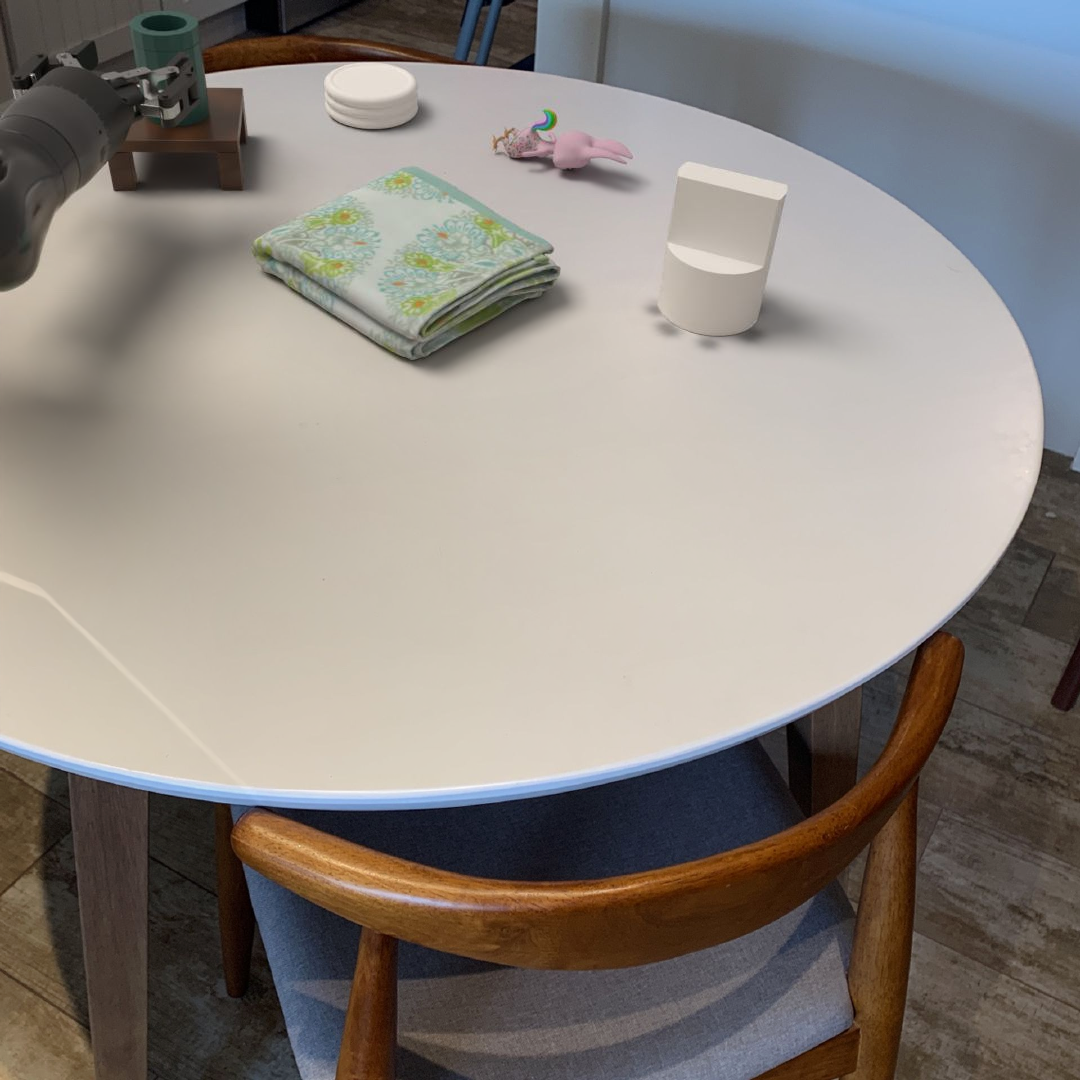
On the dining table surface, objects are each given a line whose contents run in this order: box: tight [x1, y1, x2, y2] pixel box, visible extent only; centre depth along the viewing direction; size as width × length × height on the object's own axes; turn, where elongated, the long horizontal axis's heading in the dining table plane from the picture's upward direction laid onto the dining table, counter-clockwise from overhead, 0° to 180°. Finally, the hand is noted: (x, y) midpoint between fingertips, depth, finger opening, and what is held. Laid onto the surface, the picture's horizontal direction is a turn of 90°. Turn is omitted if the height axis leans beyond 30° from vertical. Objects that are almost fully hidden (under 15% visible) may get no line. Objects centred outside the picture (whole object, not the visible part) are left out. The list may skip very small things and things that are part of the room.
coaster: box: [323, 62, 419, 130], centre depth 127 cm, size 10×10×4 cm
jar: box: [129, 10, 209, 126], centre depth 111 cm, size 6×6×8 cm
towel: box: [250, 165, 561, 361], centre depth 102 cm, size 18×21×5 cm
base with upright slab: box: [657, 160, 789, 337], centre depth 100 cm, size 9×9×12 cm
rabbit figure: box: [491, 108, 634, 171], centre depth 120 cm, size 6×6×15 cm
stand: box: [107, 86, 249, 191], centre depth 115 cm, size 12×12×5 cm
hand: (139, 56), depth 104 cm, fingers open, 8 cm apart
